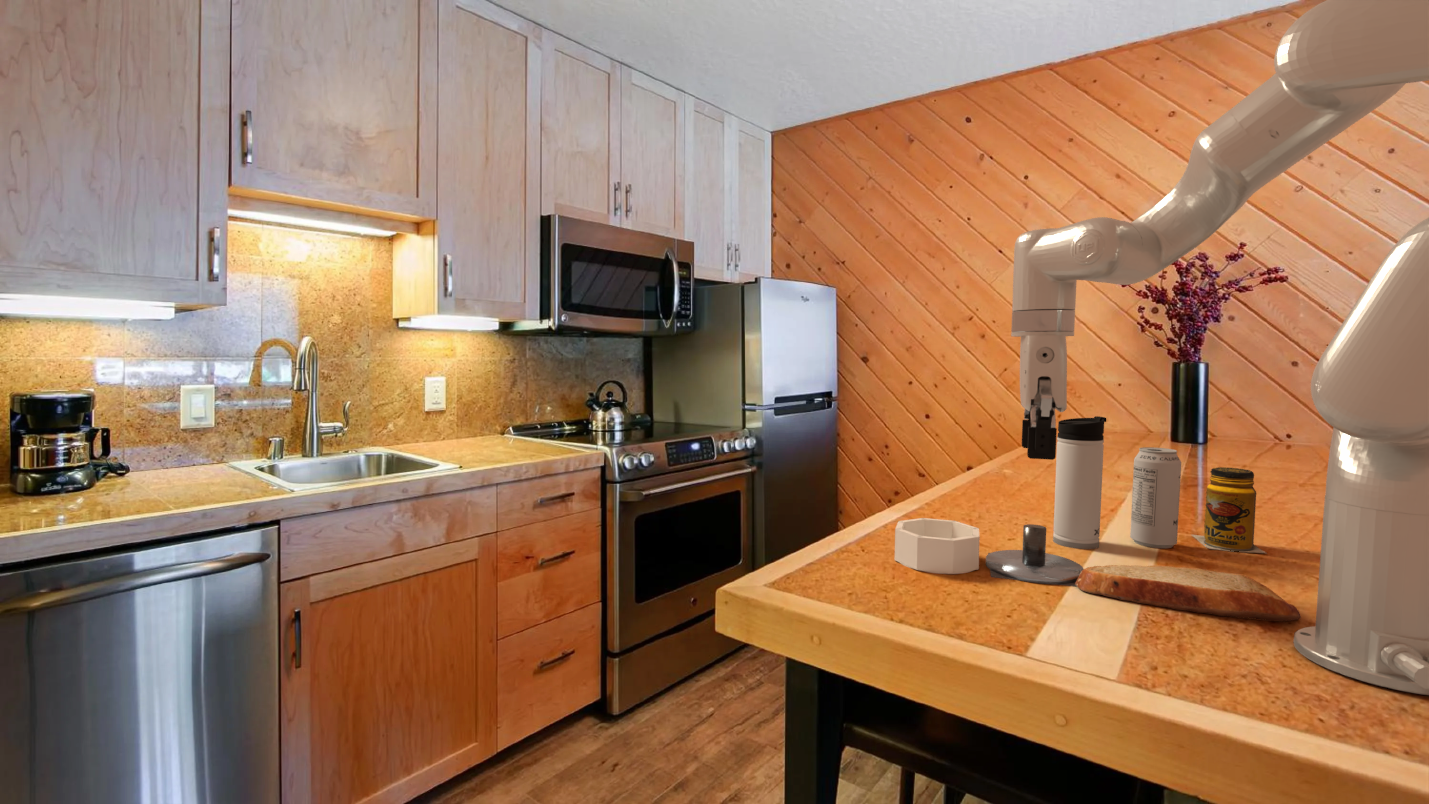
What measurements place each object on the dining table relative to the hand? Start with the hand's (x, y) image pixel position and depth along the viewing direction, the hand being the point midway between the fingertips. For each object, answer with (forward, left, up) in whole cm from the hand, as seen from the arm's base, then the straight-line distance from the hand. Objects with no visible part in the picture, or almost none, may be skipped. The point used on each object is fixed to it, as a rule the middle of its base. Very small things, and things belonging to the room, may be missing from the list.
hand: (1037, 453), depth 89 cm
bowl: (-1, +12, -16) cm, 21 cm away
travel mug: (+16, -8, -16) cm, 24 cm away
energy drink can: (+20, -19, -16) cm, 32 cm away
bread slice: (-6, -16, -16) cm, 23 cm away
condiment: (+25, -30, -16) cm, 42 cm away
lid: (0, 0, -16) cm, 16 cm away
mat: (0, 0, -16) cm, 16 cm away
